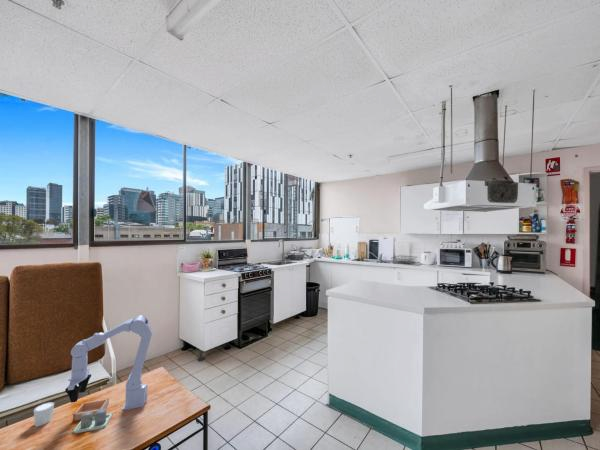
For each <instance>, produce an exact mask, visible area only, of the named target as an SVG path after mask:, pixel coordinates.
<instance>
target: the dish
mask: <svg viewBox="0 0 600 450" xmlns="http://www.w3.org/2000/svg"><path fill="white" fill-rule="evenodd" d="M109 400H110V398H105V399H100V400H90V401H85V402H82V404H80V406H79V407H78V408H77V409H76V411H75V412H74V413H73V414H72V422H77V421H81V415H82V414H83V413H85V412H87V411H92V412H93V414H92V417H94V416H95V413H96V412H97V411H98V410H100V409H106V410H107V408H108V406H109V403H110V402H109Z"/></svg>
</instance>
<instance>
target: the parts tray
mask: <svg viewBox="0 0 600 450" xmlns="http://www.w3.org/2000/svg"><path fill="white" fill-rule="evenodd" d="M113 414H114V413H112V412H111V413H106V422H105V423H104V424H102V425H99V426H96V425H95V416H94V417H92V424H91V425H90V426H89V427H87V428H81V420H79V422H78V424H77V425H76V427H75V428H74V429H73V430H72V435H75V434H79V433H83V432H84V433H85V432H89V431H95V430H101V429H105V428H106V426H107V425H108V423H109V422H110V420H111V419H112V417H113Z"/></svg>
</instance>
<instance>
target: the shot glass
mask: <svg viewBox="0 0 600 450" xmlns="http://www.w3.org/2000/svg"><path fill="white" fill-rule="evenodd" d="M54 409H55V402H53V401H49V402H45V403H41V404H40V405H38V406H36V407H35V408H34V409H33V420H34V422H33V423H34V427H40V426H43V425H45V424H47V423H49V422H51V420H52V419H53V413H54Z"/></svg>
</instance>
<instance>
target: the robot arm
mask: <svg viewBox="0 0 600 450" xmlns="http://www.w3.org/2000/svg"><path fill="white" fill-rule="evenodd" d="M122 332H123V333H124V332H127V333H130V332H133V333H135V334H136V335H138V336H139V337H140V342H139V345H138V349H137V353H136V356H135V359H134V362H133V366H132V370H131V371H130V373H129V375H128V378H127V381H126V383H125V398H124V399H125V400H124V401H125V402H124V405H123V406H122V408H121V410H123V411H124V410H131V409H136V408H141V407H142V408H143V407H144V406H145V403H146V402H147V399H148V384H147V383H145V384H143V382H142V377H143V367H144V363H145V360H146V356H147V352H148V349H149V346H150V342H151V340H152V339H151V338H152V334H153V330H152V328H151V325H150V322H149V319H148V318H146V316H144V315H137V316H135V317H132V318H130V319H127V320H126V321H124V322H122V323H120V324H118V325H116V326H115V327H112V328H111V329H109V330H107V331H106V332H94V334H93V335H92V336H90V337H88V338H86V339H85V338H84V339H82V340H80V341H79V342H77V343H76V344H75V345H74V346H73V347H72V349H71V351H70V355H71V356H72V359H71V377H69V378H68V379H67V380H68V382H69V385H68V386H67V387H66V388H65V390H64V391H65V393H66V394H67V395H68V398H69V401H70V403H76V402H77V401H78V399H79V394H81V393H86V391H87V386H88V385H89V381H90V379H91V378H92V374H90V369H88V359H89V357H88V354H89V353H88V352H90V351H92V350H94V349H95V348H98V347H100V346H102V345H103V344H105V343H106V342H107V339H109V338H112V337H114V336H116V335H117V334H120V333H122Z"/></svg>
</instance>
